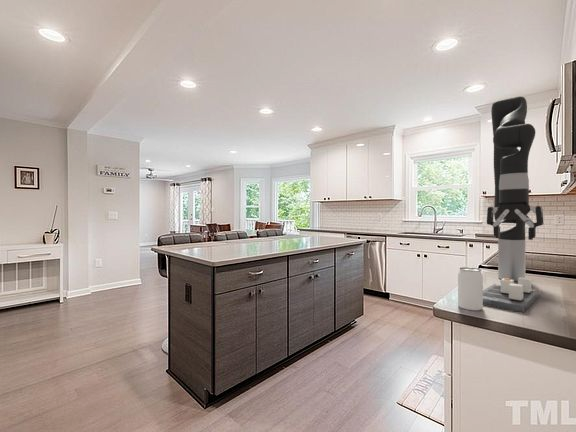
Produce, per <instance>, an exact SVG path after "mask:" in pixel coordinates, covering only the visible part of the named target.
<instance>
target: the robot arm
mask: <svg viewBox="0 0 576 432" xmlns="http://www.w3.org/2000/svg"><path fill="white" fill-rule="evenodd" d="M527 113H528V102H527V99H526V97H524V96H514V97H510V98H504V99H500V100H495V101H493V103H492V104H491V124H492V135H493V138H492V143H493V177H494V179H493V180H494V203H493V206H488V207H487V213H486V224H487V225H489V226H492V228H493V236H494V237H495V238H496V239H497V241H498V242H497V243H498V244H497V245H498V246H497V252H498V253H497V255H498V259H497V260H498V262H497V264H498V267H497V269H498V270H497V271H498V273H497V277H498V279H500V280H501V279H503V278H508V279H512V280H514V282H518V278H520V277H522V278H526V225H527V226H528V235H527V236H528V241H529V240H530V241H532V240H533V239H535V238H536V236H537V235H536V232H537V231H536V230H537V227H540V226H543V225H544V210H543V206H542V205H537V206H530V196H529V195H530V185H529V184H530V179H529V167H528V166H529V155H530V152H531V148H532V145H533V142H534V139H535V138H536V128H535V127H534V125H532V124H531V123H526V118H527ZM518 148H520V149H518ZM531 211H532V212H533V214H535V218H536V219H535V220H536V222H534V221H533V220H532V219H531V218H530V216H529V215H528V214H529V213H530V212H531ZM501 224H515V226H513V227H512V228H510V229H507V230H501V226H500V225H501Z"/></svg>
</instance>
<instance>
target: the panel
mask: <svg viewBox="0 0 576 432" xmlns="http://www.w3.org/2000/svg"><path fill="white" fill-rule="evenodd" d="M538 298H540V290H539V289H532V288H531V292H530V293H528V292H523V299H522V300H516V299H510V298H509V294H508V293H502V292H501V283H500V284H499V283H493V284H491V285H490V286H488V287H487V288H484V289H483V306H487V307H491V308H492V307H493V308H498V309H503V310H507V311H512V312H517V313H523V314H525V312H527V310H528V309H529V308H530V307H531V306H533V304H534V303H535V302H536V301H537V300H538Z"/></svg>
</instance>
